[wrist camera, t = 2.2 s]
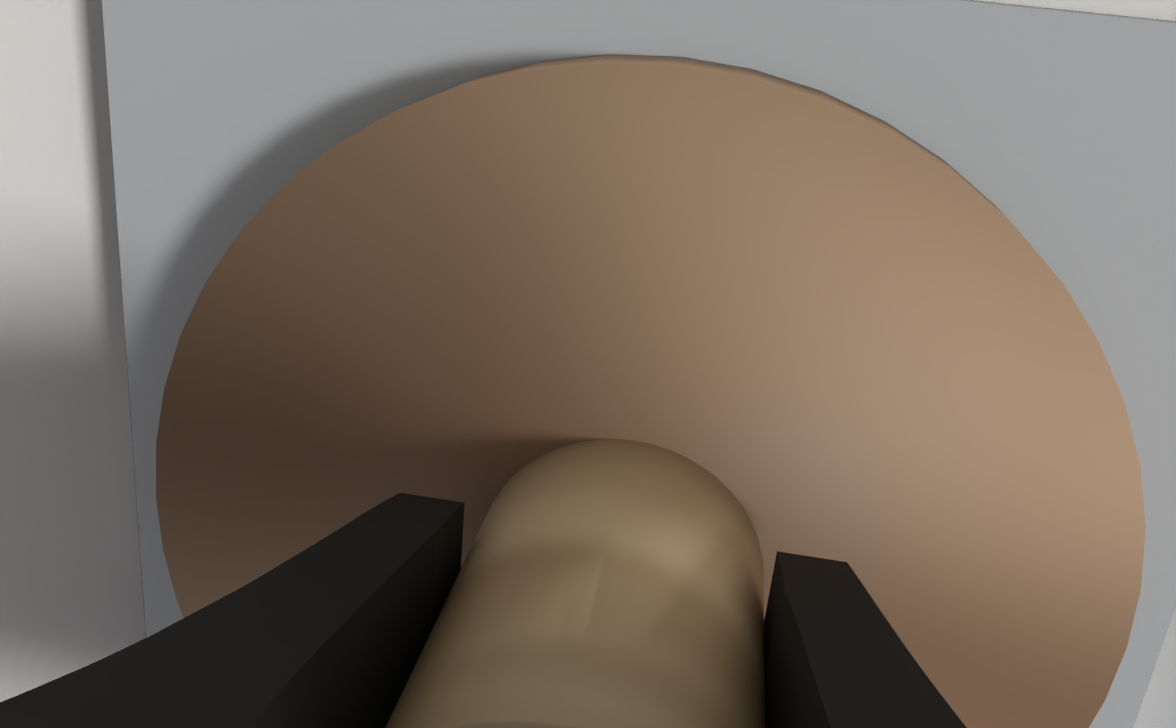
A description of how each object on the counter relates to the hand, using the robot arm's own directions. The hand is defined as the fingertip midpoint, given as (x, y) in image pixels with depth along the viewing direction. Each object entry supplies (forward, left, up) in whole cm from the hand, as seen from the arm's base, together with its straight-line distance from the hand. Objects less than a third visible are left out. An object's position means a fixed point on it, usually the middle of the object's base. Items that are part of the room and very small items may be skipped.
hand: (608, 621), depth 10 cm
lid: (0, 0, -2) cm, 2 cm away
